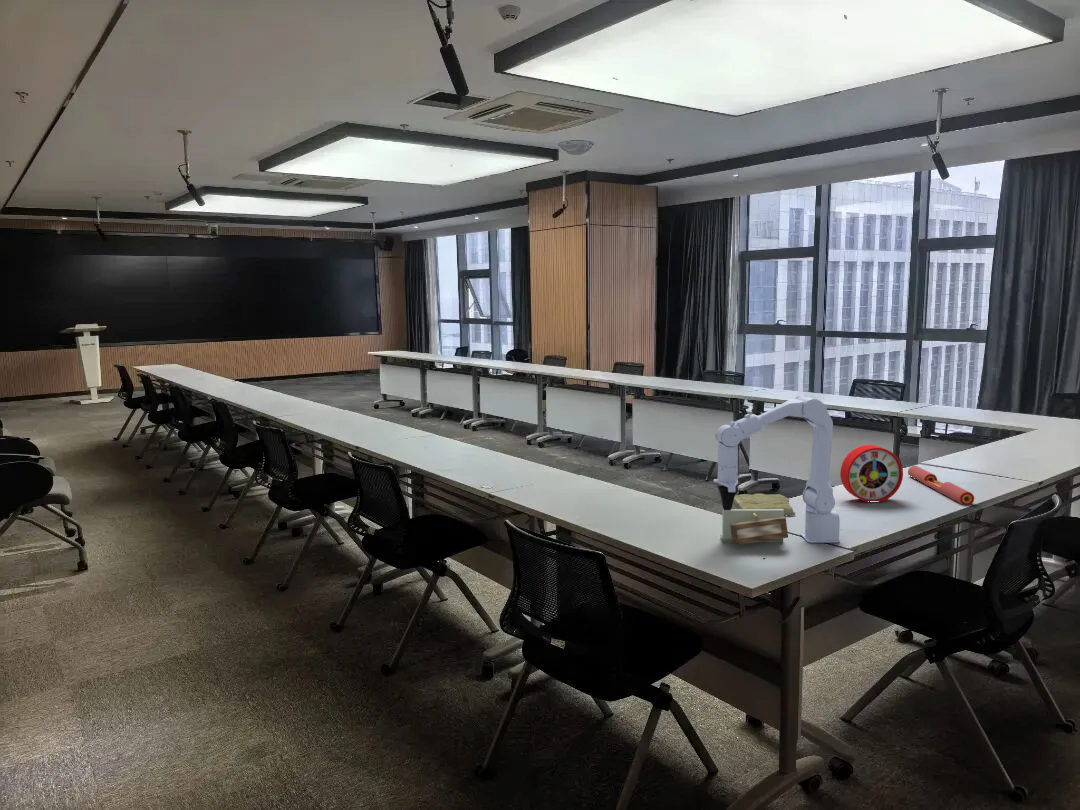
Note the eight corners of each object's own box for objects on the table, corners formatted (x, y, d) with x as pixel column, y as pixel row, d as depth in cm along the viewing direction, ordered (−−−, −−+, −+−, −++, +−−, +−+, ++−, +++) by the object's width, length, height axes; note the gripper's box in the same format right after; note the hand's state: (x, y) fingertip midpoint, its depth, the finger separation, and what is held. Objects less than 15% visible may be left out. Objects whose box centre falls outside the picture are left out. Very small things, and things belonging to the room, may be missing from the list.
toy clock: (846, 503, 262) (848, 448, 259) (839, 499, 268) (841, 445, 265) (901, 502, 262) (904, 447, 259) (893, 497, 268) (896, 443, 265)
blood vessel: (974, 505, 257) (974, 491, 256) (959, 506, 257) (960, 492, 256) (920, 477, 298) (920, 465, 297) (907, 477, 298) (907, 465, 298)
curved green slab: (779, 538, 226) (780, 506, 225) (786, 546, 218) (787, 513, 217) (720, 538, 227) (720, 506, 226) (725, 546, 220) (725, 514, 218)
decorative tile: (743, 518, 249) (744, 508, 249) (731, 502, 269) (731, 492, 268) (799, 517, 248) (800, 507, 248) (782, 501, 268) (783, 492, 268)
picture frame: (786, 535, 218) (784, 516, 217) (788, 537, 216) (785, 518, 215) (732, 543, 219) (729, 524, 218) (733, 545, 217) (730, 525, 217)
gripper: (710, 460, 227) (709, 503, 229) (718, 471, 213) (717, 516, 214) (733, 460, 226) (732, 503, 228) (743, 470, 212) (742, 516, 214)
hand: (727, 509), depth 221 cm, fingers closed
